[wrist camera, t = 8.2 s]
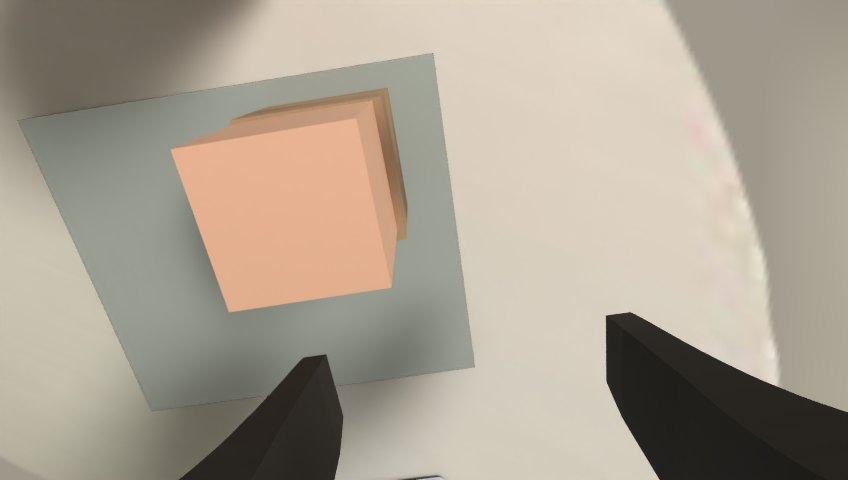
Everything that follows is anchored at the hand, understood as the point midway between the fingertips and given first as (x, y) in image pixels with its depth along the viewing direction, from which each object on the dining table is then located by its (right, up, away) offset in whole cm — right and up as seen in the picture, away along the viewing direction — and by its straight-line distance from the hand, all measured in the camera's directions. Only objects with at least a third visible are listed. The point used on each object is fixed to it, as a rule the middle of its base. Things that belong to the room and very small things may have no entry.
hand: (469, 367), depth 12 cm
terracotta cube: (-5, +5, +4) cm, 8 cm away
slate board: (-8, +3, +10) cm, 13 cm away
